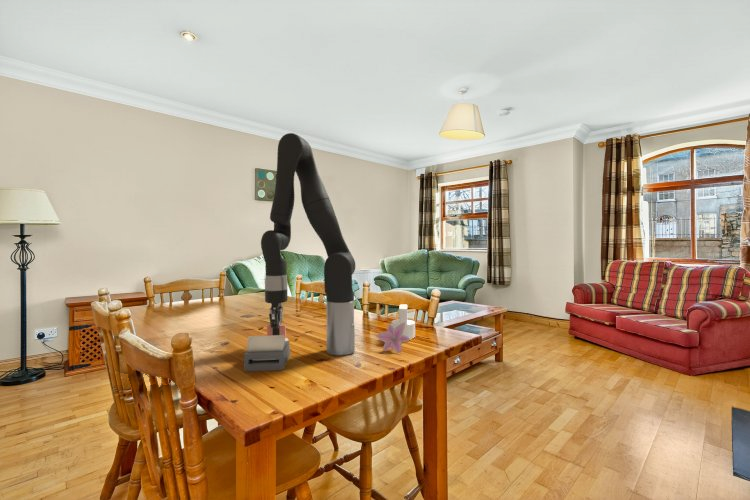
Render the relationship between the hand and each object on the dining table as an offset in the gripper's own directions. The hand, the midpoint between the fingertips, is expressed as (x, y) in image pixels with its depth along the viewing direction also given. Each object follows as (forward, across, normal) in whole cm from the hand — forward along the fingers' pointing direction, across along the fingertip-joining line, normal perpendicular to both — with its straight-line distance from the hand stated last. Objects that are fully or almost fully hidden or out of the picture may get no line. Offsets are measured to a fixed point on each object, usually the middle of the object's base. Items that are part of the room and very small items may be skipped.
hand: (276, 337), depth 122 cm
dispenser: (+4, -14, 0) cm, 15 cm away
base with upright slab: (+4, +8, -46) cm, 47 cm away
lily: (+4, -6, -40) cm, 41 cm away
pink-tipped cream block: (+1, -9, 0) cm, 9 cm away
